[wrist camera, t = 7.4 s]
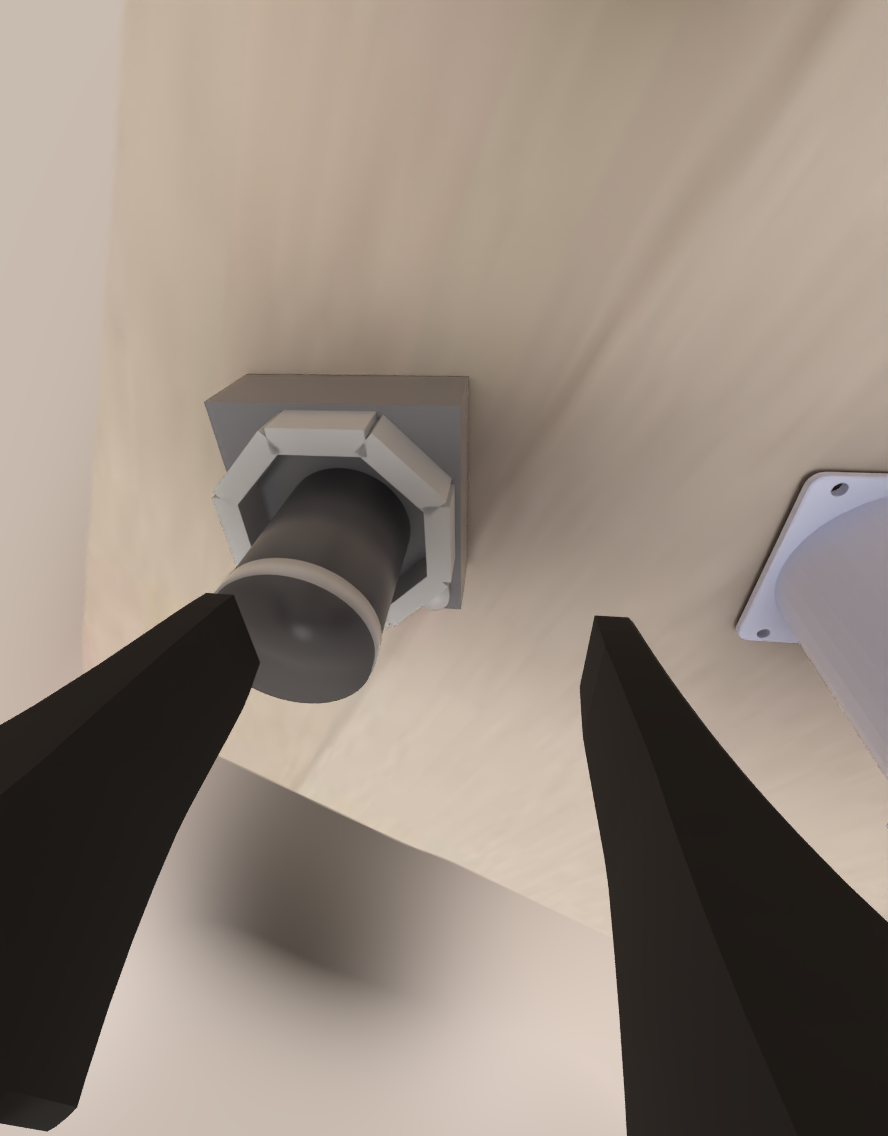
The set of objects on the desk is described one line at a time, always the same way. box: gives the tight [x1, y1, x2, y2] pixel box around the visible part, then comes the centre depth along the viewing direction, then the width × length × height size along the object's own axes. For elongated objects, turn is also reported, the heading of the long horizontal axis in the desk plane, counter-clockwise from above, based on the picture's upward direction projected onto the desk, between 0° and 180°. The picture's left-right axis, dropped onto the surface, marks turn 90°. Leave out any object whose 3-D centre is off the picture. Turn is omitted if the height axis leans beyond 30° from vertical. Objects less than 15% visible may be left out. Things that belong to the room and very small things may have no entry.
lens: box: [214, 468, 410, 703], centre depth 15 cm, size 4×4×6 cm
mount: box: [204, 374, 468, 628], centre depth 18 cm, size 8×8×4 cm
